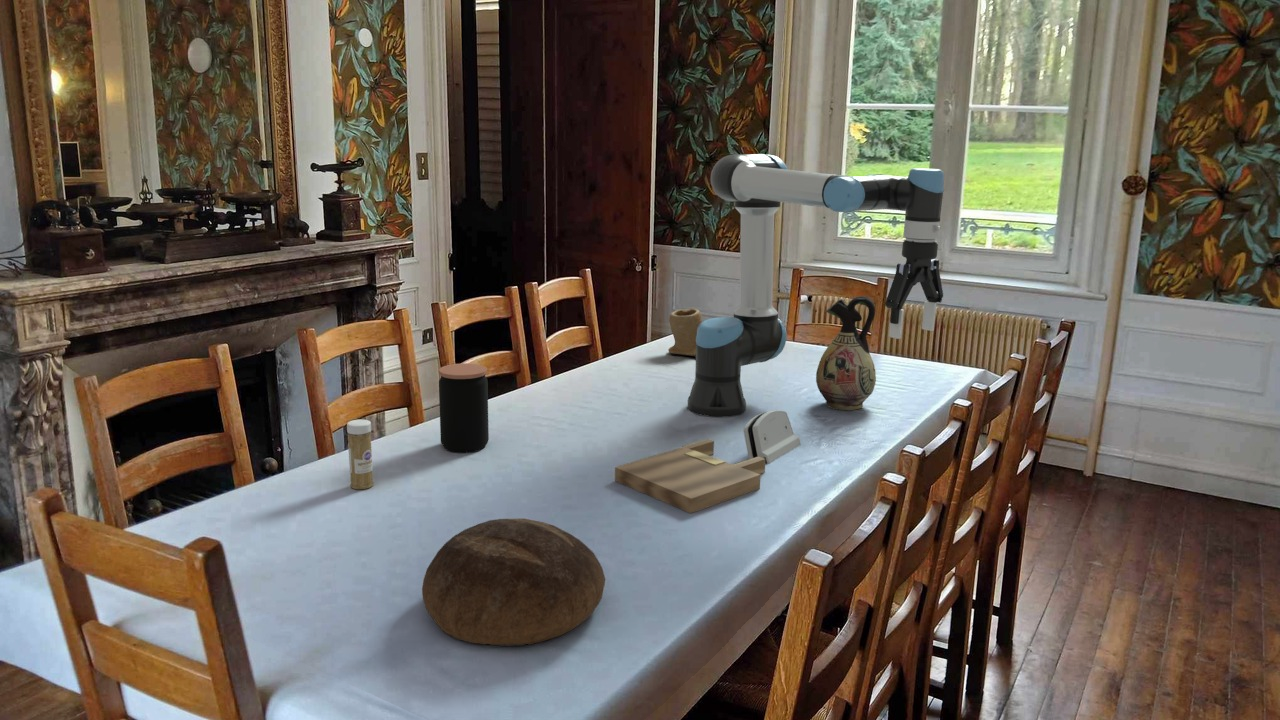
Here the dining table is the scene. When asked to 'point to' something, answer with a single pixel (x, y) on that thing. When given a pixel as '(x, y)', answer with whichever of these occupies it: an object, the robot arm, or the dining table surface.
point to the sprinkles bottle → (360, 454)
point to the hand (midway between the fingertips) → (911, 333)
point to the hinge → (770, 436)
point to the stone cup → (684, 331)
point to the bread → (512, 583)
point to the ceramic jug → (848, 359)
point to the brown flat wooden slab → (691, 476)
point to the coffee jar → (463, 407)
